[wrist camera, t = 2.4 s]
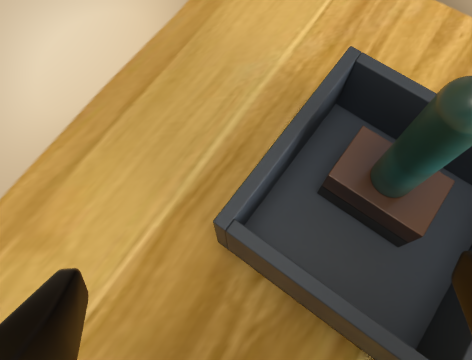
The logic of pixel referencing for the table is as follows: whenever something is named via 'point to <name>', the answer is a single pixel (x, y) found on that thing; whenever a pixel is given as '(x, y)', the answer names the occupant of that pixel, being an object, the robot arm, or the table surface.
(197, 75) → the table surface
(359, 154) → the teal handled stamp
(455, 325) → the basket
